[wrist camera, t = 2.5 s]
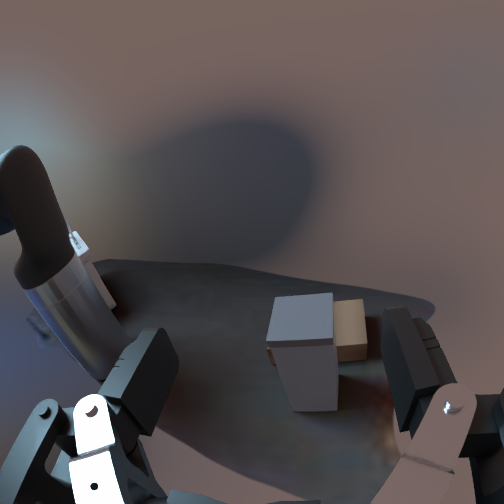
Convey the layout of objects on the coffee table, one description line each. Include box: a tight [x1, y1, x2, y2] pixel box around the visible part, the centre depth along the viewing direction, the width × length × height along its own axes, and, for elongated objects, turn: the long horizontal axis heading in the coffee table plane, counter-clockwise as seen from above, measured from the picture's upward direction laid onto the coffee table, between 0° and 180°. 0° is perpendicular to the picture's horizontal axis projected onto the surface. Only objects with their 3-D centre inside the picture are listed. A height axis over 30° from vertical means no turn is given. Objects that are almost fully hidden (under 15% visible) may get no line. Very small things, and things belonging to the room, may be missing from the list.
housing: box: [266, 293, 339, 412], centre depth 25 cm, size 5×5×12 cm
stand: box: [267, 299, 367, 365], centre depth 33 cm, size 11×7×3 cm, turn 78°
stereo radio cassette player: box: [64, 217, 116, 310], centre depth 52 cm, size 21×8×20 cm, turn 43°
